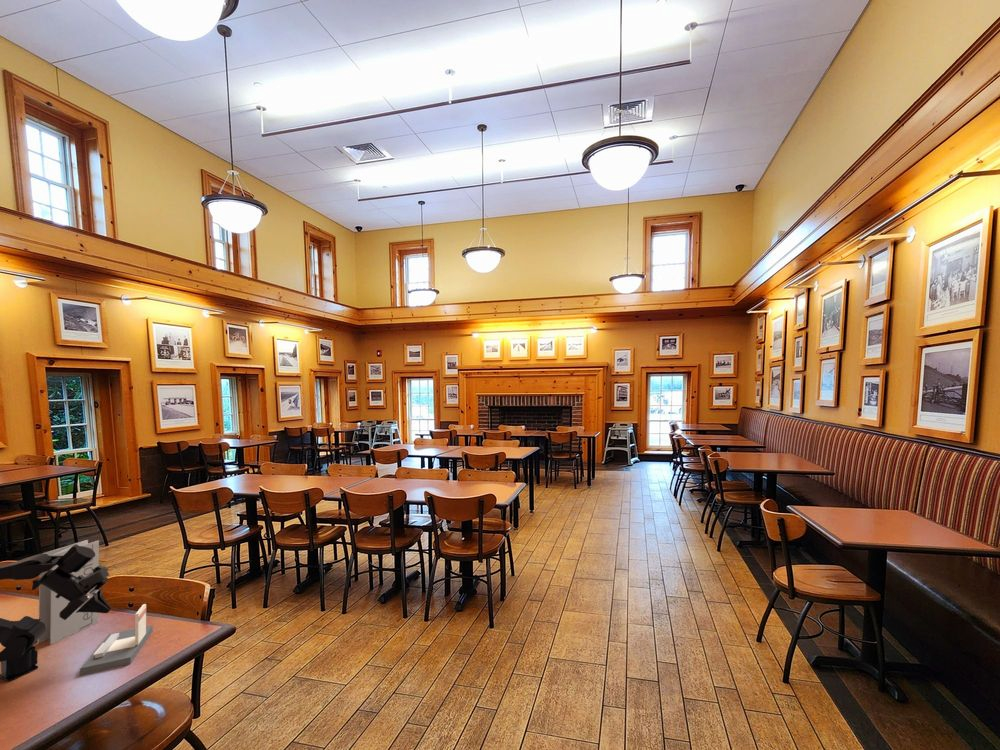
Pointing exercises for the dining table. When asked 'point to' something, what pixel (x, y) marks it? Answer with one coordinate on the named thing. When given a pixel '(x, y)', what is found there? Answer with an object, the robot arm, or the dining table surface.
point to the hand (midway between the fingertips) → (109, 611)
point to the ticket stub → (140, 624)
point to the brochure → (65, 601)
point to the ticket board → (115, 651)
